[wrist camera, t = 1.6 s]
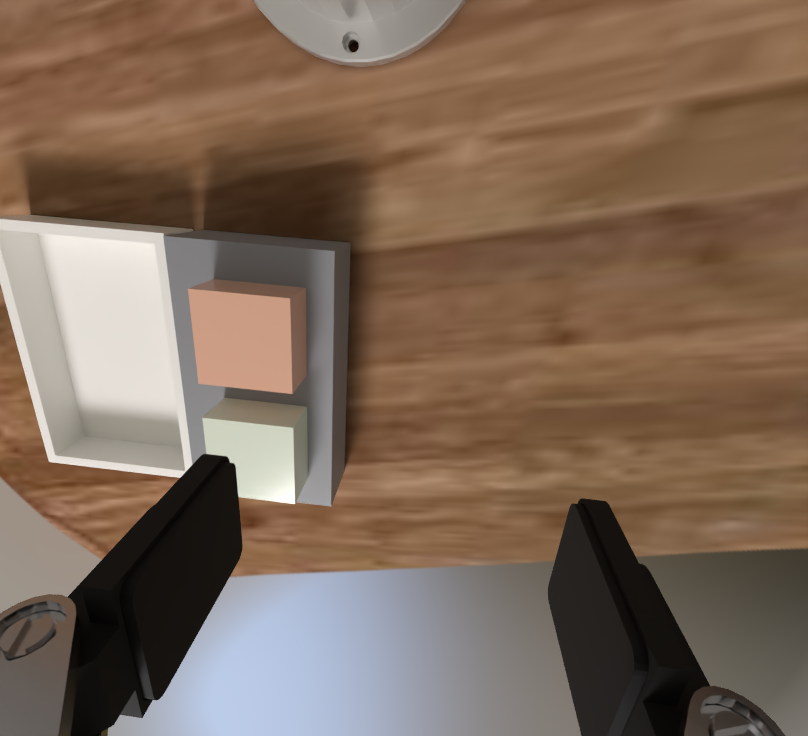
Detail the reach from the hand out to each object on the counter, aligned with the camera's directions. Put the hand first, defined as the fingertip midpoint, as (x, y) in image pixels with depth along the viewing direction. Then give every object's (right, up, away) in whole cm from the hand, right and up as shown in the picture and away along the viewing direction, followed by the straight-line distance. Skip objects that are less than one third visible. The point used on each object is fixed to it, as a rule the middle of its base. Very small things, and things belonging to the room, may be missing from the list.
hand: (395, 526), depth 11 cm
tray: (-18, +5, +19) cm, 27 cm away
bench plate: (-8, +4, +18) cm, 21 cm away
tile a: (-8, +6, +13) cm, 17 cm away
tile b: (-8, 0, +16) cm, 18 cm away
